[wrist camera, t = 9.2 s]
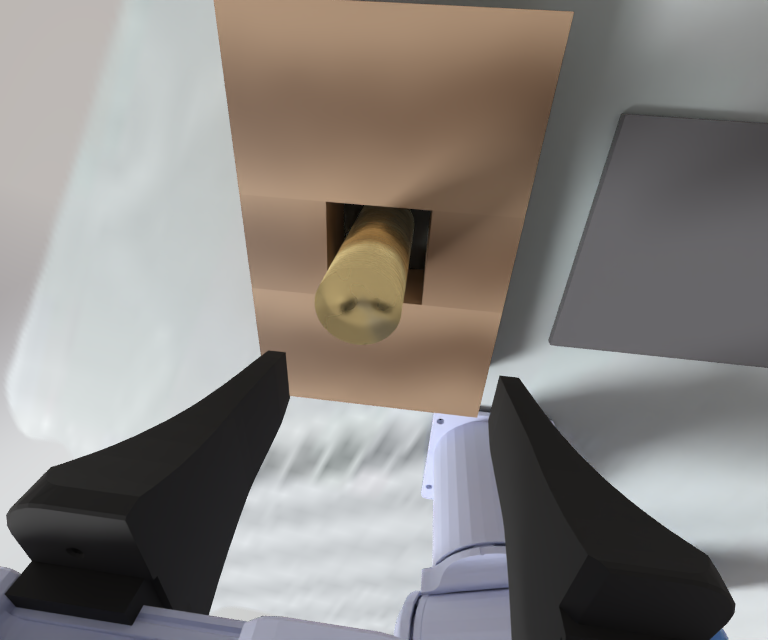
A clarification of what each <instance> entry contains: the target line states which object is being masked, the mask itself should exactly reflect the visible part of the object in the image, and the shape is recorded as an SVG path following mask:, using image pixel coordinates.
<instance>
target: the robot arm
mask: <svg viewBox="0 0 768 640" xmlns="http://www.w3.org/2000/svg"><path fill="white" fill-rule="evenodd" d="M289 399H290V393H289V382H288V372H287V361H286V352H279V351H270V350H268V351H267V352H265V353H264V354H263V355H262V356H260V357H259V358H258V359H256V360H255V361H254V362H253V363H251V364H250V365H249V366H248V367H246V368H245V369H244V370H242V371H241V372H240V373H239V374H237V375H236V376H235V377H233V378H232V379H231V380H229V381H228V382H227V383H225V384H224V385H223V386H221V387H220V388H218V389H217V390H215V391H214V392H212V393H211V394H210V395H208V396H207V397H205V398H204V399H202V400H201V401H199V402H198V403H196V404H195V405H193V406H191V407H190V408H188V409H186V410H185V411H183V412H181V413H179V414H178V415H176V416H174V417H172V418H170V419H169V420H167V421H165V422H163V423H161V424H159V425H157V426H155V427H153V428H151V429H149V430H147V431H144V432H142V433H140V434H138V435H136V436H134V437H132V438H129V439H127V440H125V441H122V442H120V443H118V444H115V445H113V446H110V447H108V448H105V449H103V450H100V451H97V452H95V453H92V454H89V455H86V456H83V457H80V458H77V459H75V460H72V461H69V462H66V463H63V464H60V465H57V466H53V467H51V468H50V469H49V470H48V471H47V472H46V473H45V474H44V475H43V476H42V477H41V478H40V479H39V480H38V481H37V482H36V483H35V484H34V485H33V486H32V487H31V488H30V489H29V490H28V491H27V492H26V493H25V494H24V495H23V496H22V497H21V498H20V499H19V500H18V501H17V502H16V503H15V504H14V505H13V506H12V507H11V508H10V510H9V511H8V513H7V515H6V516H7V526H8V528H9V530H10V532H11V534H12V535H13V536H14V538H15V539H16V540H17V542H18V543H19V544H20V545H21V547H22V548H23V550H24V551H25V552H26V554H27V555H28V557H29V558H30V559H31V560H32V562H31V563H30V564H29V565H28V567H27V568H26V569H25V570H24V571H23V573H22V574H20V573H19V572H17V571H15V570H13V569H10V568H6V567H0V640H710V639H711V638H712V637H713V636H714V635H715V634H716V633H717V632H719V631H720V630H721V629H722V628H723V627H724V626H725V625H726V624H727V623H728V622H729V620H730V619H731V618H732V616H733V614H734V612H735V602H734V600H733V598H732V596H731V594H730V593H729V591H728V589H727V587H726V585H725V583H724V581H723V580H722V578H721V576H720V574H719V572H718V571H717V569H716V568H715V566H714V564H713V563H712V561H711V560H710V558H709V557H708V555H706V554H705V553H703V552H702V551H700V550H699V549H697V548H696V547H694V546H693V545H691V544H690V543H688V542H687V541H685V540H683V539H682V538H680V537H679V536H677V535H676V534H674V533H673V532H671V531H670V530H668V529H667V528H666V527H664V526H663V525H661V524H660V523H659V522H657V521H656V520H655V519H653V518H652V517H651V516H649V515H648V514H647V513H645V512H644V511H643V510H641V509H640V508H639V507H637V506H636V505H635V504H634V503H632V502H631V501H630V500H629V499H627V498H626V497H625V496H624V495H623V494H621V493H620V492H619V491H618V490H617V489H616V488H614V487H613V486H612V485H611V484H610V483H609V482H607V481H606V480H605V479H604V478H603V477H602V476H601V475H600V474H599V473H598V472H597V471H596V470H595V469H594V468H593V467H592V466H590V465H589V464H588V463H587V462H586V461H585V460H584V459H583V458H582V457H581V456H580V455H579V454H578V452H577V451H576V450H575V449H574V448H573V447H572V446H571V445H570V444H569V443H568V441H567V440H566V439H565V438H564V437H563V436H562V435H561V433H560V432H559V431H558V430H557V429H556V427H555V424H554V422H553V421H552V420H549V418H548V417H547V416H546V415H545V413H544V412H543V411H542V409H541V408H540V407H539V405H538V404H537V403H536V401H535V400H534V398H533V397H532V396H531V394H530V393H529V391H528V390H527V389H526V387H525V386H524V384H523V383H522V382H521V380H520V379H519V378H516V377H507V376H499V380H498V384H497V388H496V392H495V396H494V400H493V404H492V408H491V411H490V413H489V412H480V411H479V412H478V416H477V418H475V417H466V416H458V415H449V414H441V413H434V415H433V421H432V428H431V434H430V440H429V446H428V453H427V459H426V465H425V471H424V478H423V484H422V490H421V495H422V496H423V497H424V498H427V499H433V567H430V568H424V569H422V584H421V591H414V592H412V593H410V594H409V595H408V597H407V598H406V600H405V602H404V604H403V607H402V609H401V610H400V612H399V615H398V617H397V621H396V625H395V630H394V636H393V635H389V634H386V633H382V632H377V631H371V630H365V629H358V628H352V627H345V626H339V625H332V624H326V623H320V622H313V621H307V620H300V619H294V618H288V617H280V616H261V617H258V618H256V619H253V620H250V621H248V622H247V621H240V620H234V619H228V618H222V617H215V616H209V612H210V609H211V605H212V602H213V599H214V595H215V592H216V588H217V585H218V582H219V579H220V575H221V572H222V569H223V566H224V563H225V560H226V557H227V553H228V550H229V547H230V544H231V541H232V538H233V536H234V533H235V530H236V527H237V524H238V521H239V518H240V515H241V513H242V510H243V507H244V504H245V502H246V499H247V496H248V493H249V491H250V489H251V486H252V484H253V482H254V479H255V477H256V475H257V473H258V471H259V469H260V467H261V465H262V463H263V461H264V459H265V457H266V455H267V453H268V451H269V449H270V447H271V444H272V442H273V440H274V438H275V436H276V434H277V432H278V430H279V428H280V425H281V423H282V420H283V417H284V414H285V412H286V408H287V405H288V402H289ZM438 419H443V420H438Z"/></svg>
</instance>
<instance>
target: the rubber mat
mask: <svg viewBox="0 0 768 640" xmlns="http://www.w3.org/2000/svg"><path fill="white" fill-rule="evenodd" d="M549 343H550V345H555V346H564V347H574V348H583V349H593V350H602V351H612V352H622V353H631V354H641V355H650V356H660V357H669V358H679V359H689V360H698V361H708V362H717V363H727V364H736V365H746V366H756V367H765V368H768V123H754V122H739V121H724V120H709V119H694V118H679V117H664V116H649V115H634V114H621V117H620V120H619V123H618V126H617V129H616V132H615V135H614V138H613V141H612V145H611V148H610V151H609V154H608V157H607V160H606V163H605V166H604V169H603V173H602V176H601V179H600V182H599V185H598V188H597V191H596V194H595V197H594V200H593V204H592V207H591V210H590V213H589V216H588V219H587V222H586V225H585V228H584V232H583V235H582V238H581V241H580V244H579V247H578V250H577V253H576V256H575V260H574V263H573V266H572V269H571V272H570V275H569V278H568V281H567V284H566V287H565V291H564V294H563V297H562V300H561V303H560V306H559V309H558V312H557V315H556V319H555V322H554V325H553V328H552V331H551V334H550V337H549Z"/></svg>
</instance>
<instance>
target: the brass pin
mask: <svg viewBox="0 0 768 640" xmlns="http://www.w3.org/2000/svg"><path fill="white" fill-rule="evenodd" d="M413 233H414V218H413V215H412V213H411V211H410V209H408V208H396V207H384V206H373V205H365V206H364V207H363V208H362V210H361V212H360V214H359V215H358V217H357V219H356V221H355V222H354V224H353V226H352V228H351V230H350V231H349V233H348V235H347V237H346V239H345V240H344V242H343V244H342V246H341V248H340V249H339V251H338V253H337V255H336V256H335V258H334V260H333V262H332V264H331V265H330V267H329V269H328V271H327V273H326V274H325V276H324V278H323V280H322V282H321V283H320V285H319V287H318V289H317V291H316V294H315V311H316V314H317V317H318V319H319V321H320V322H321V324H322V325H323V327H324V328H325V329H326V330H327V331H328V332H329V333H330V334H332V335H333V336H335V337H336V338H338V339H340V340H342V341H344V342H347V343H351V344H357V345H368V344H373V343H377V342H379V341H382V340H384V339H385V338H387V337H388V336H389V335H391V334H392V333H393V332H394V330H395V329H396V328H397V326H398V324H399V322H400V319H401V313H402V306H403V300H404V293H405V286H406V280H407V273H408V266H409V260H410V253H411V246H412V240H413Z"/></svg>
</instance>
